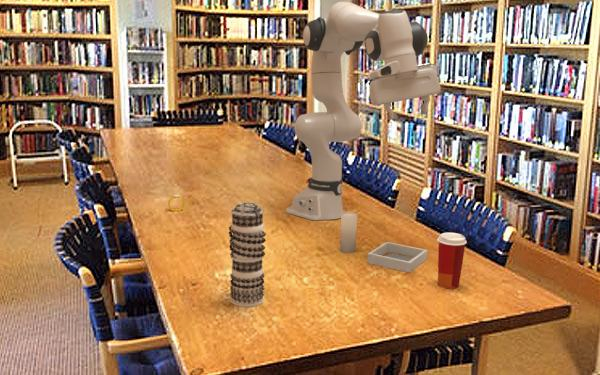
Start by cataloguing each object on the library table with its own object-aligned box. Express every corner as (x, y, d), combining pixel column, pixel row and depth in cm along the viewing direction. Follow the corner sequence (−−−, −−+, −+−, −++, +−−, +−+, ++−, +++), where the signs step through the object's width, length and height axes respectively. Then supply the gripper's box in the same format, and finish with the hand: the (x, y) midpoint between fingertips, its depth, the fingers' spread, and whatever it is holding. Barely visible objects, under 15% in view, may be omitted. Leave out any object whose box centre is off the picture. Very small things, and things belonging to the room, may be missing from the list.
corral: (367, 263, 186) (367, 253, 186) (386, 250, 198) (386, 241, 197) (409, 272, 179) (410, 262, 179) (426, 259, 191) (427, 250, 190)
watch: (169, 212, 235) (168, 196, 234) (167, 210, 237) (167, 195, 236) (185, 210, 237) (184, 195, 236) (183, 209, 240) (183, 194, 238)
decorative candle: (221, 299, 158) (220, 204, 152) (249, 289, 165) (249, 198, 159) (244, 310, 152) (244, 212, 146) (272, 300, 158) (273, 205, 152)
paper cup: (458, 279, 175) (462, 232, 172) (466, 290, 168) (470, 240, 164) (430, 279, 175) (434, 231, 172) (437, 290, 167) (441, 240, 164)
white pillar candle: (337, 250, 196) (338, 214, 194) (344, 246, 201) (346, 210, 198) (351, 254, 194) (352, 217, 191) (358, 249, 198) (360, 213, 195)
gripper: (430, 62, 180) (438, 110, 181) (364, 74, 176) (372, 122, 178) (440, 59, 174) (447, 108, 175) (371, 71, 170) (379, 121, 172)
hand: (409, 116), depth 176 cm, fingers open, 8 cm apart
